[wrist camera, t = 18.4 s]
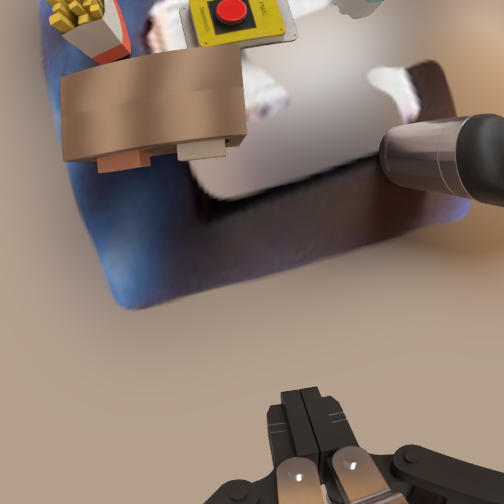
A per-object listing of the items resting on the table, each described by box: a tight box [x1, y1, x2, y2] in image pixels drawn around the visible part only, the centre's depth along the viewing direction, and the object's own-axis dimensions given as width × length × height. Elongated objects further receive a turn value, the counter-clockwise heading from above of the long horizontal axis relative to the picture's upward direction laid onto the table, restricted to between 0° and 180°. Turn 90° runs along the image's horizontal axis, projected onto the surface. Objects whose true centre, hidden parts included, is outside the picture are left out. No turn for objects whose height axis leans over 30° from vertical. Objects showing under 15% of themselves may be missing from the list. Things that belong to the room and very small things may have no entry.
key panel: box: [60, 44, 247, 162], centre depth 31 cm, size 16×8×16 cm, turn 95°
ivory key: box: [177, 139, 226, 161], centre depth 30 cm, size 4×4×4 cm
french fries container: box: [46, 0, 131, 65], centre depth 25 cm, size 5×11×18 cm, turn 18°
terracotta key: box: [97, 150, 151, 173], centre depth 29 cm, size 4×4×4 cm
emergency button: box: [179, 0, 298, 49], centre depth 33 cm, size 9×4×15 cm
